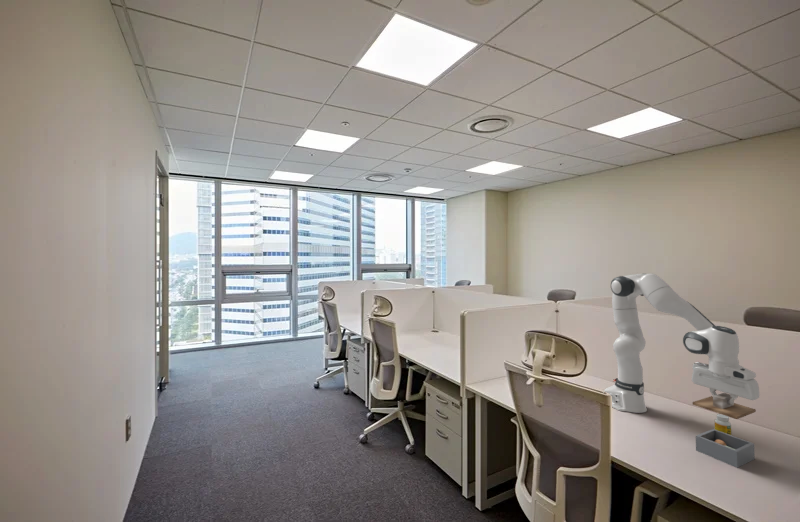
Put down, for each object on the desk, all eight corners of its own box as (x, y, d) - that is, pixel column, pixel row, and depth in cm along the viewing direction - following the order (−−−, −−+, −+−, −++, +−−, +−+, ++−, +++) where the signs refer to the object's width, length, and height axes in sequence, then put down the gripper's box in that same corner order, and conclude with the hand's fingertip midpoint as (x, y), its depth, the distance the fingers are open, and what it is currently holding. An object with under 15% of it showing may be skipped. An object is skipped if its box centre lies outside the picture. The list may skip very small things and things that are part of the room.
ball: (711, 448, 142) (711, 438, 142) (716, 446, 144) (716, 436, 143) (723, 453, 138) (723, 443, 138) (728, 451, 140) (728, 441, 140)
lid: (692, 404, 141) (692, 392, 141) (711, 398, 147) (711, 386, 147) (736, 419, 128) (736, 406, 128) (755, 412, 134) (755, 399, 134)
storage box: (695, 452, 141) (695, 435, 141) (713, 445, 146) (713, 428, 146) (737, 470, 129) (736, 451, 129) (754, 461, 134) (754, 443, 134)
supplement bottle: (716, 433, 156) (716, 412, 156) (733, 438, 151) (732, 416, 151) (713, 437, 153) (712, 415, 153) (729, 442, 148) (728, 420, 148)
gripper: (688, 361, 146) (688, 394, 146) (753, 377, 127) (753, 414, 127) (696, 359, 148) (696, 391, 148) (761, 374, 129) (761, 411, 130)
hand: (723, 402), depth 138 cm, fingers closed on lid, 3 cm apart
